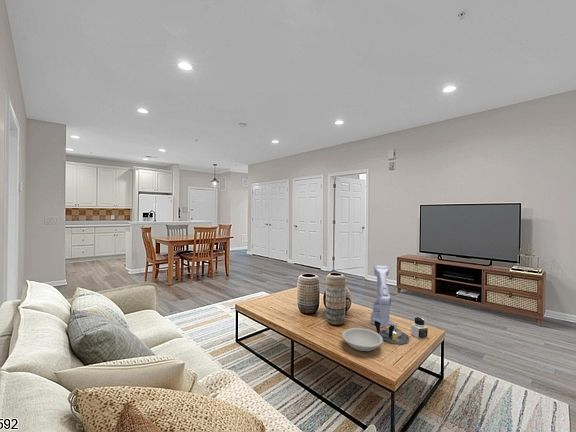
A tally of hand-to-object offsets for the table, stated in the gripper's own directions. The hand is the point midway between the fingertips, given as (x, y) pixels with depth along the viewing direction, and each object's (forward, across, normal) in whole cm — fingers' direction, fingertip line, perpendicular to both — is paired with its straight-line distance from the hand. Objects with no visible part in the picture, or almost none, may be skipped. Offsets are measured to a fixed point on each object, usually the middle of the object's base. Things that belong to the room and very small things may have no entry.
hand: (384, 335), depth 178 cm
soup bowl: (+3, -7, -18) cm, 20 cm away
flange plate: (+3, +4, +7) cm, 8 cm away
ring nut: (+1, +4, +7) cm, 8 cm away
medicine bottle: (+3, +16, +20) cm, 26 cm away
